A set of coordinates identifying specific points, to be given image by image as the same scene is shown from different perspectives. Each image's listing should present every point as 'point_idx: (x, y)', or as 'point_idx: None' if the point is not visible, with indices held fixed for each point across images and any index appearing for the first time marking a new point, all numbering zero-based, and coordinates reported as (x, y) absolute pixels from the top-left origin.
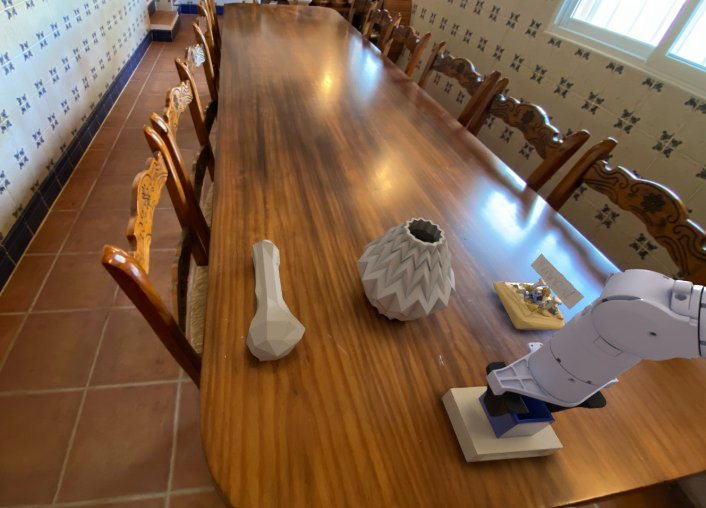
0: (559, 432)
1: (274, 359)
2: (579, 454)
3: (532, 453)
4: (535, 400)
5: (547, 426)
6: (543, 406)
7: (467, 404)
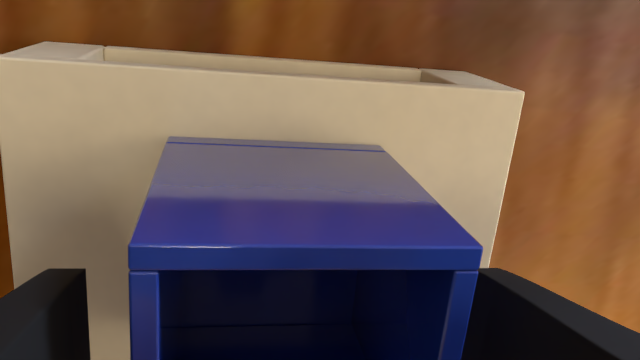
0: (533, 234)
1: None
2: None
3: None
4: (417, 345)
5: None
6: None
7: (74, 164)
